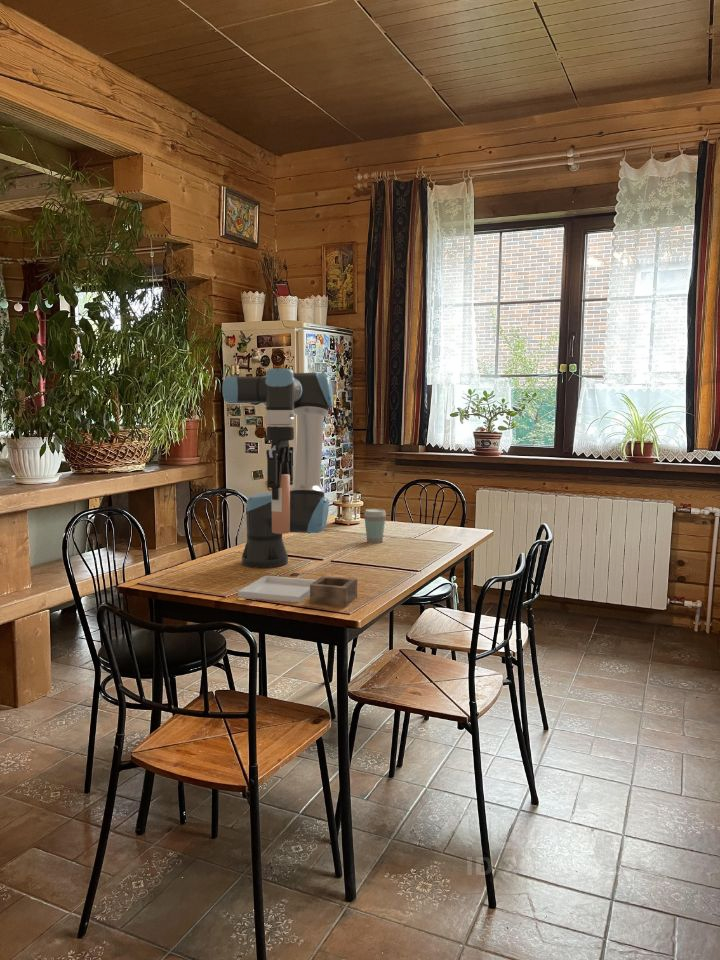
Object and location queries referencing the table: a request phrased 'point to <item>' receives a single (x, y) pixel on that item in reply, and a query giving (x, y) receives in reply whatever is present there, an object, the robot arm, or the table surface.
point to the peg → (283, 508)
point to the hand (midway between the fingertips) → (280, 509)
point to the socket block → (333, 591)
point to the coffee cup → (374, 525)
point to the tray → (277, 589)
